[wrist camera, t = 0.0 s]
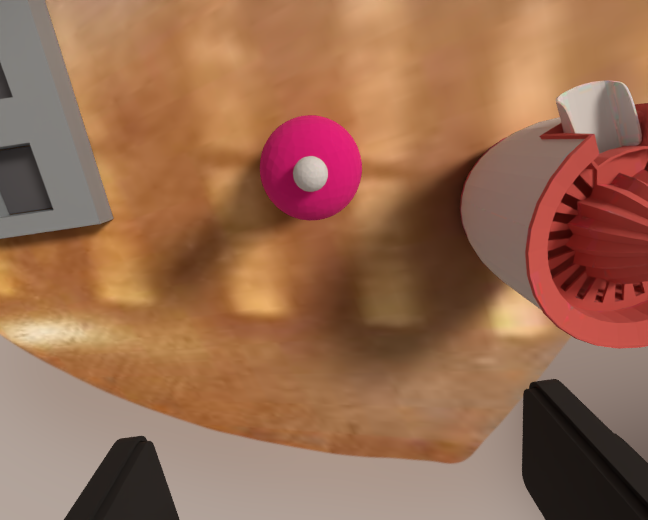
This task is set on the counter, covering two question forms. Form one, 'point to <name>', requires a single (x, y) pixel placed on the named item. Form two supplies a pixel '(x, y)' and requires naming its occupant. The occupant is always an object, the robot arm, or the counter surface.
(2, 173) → the block
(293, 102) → the counter surface
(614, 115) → the citrus juicer
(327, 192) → the pepper mill
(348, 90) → the counter surface
